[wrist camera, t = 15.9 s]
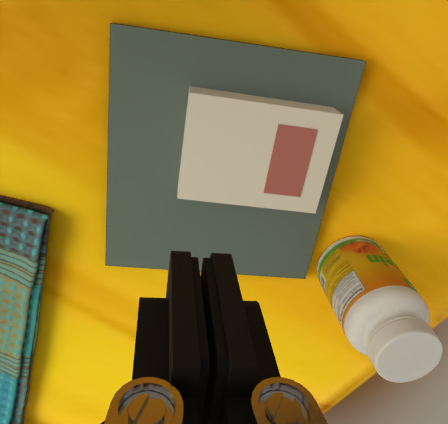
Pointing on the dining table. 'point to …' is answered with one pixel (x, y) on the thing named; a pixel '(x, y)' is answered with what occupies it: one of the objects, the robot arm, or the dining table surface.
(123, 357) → the dining table surface
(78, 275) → the dining table surface
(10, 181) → the dining table surface
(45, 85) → the dining table surface
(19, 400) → the dish towel
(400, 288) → the supplement bottle
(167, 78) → the mat
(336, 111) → the card box
